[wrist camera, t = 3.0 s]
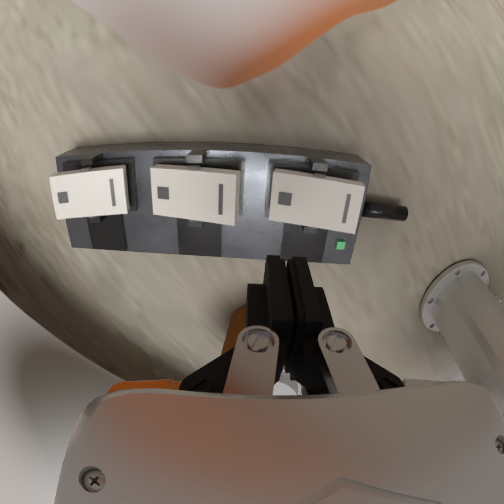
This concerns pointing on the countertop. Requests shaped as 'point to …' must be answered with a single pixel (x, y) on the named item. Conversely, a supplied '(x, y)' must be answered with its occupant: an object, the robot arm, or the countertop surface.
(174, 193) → the rocker
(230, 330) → the disposable coffee cup
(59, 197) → the rocker
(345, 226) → the rocker
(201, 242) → the power strip
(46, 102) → the countertop surface
